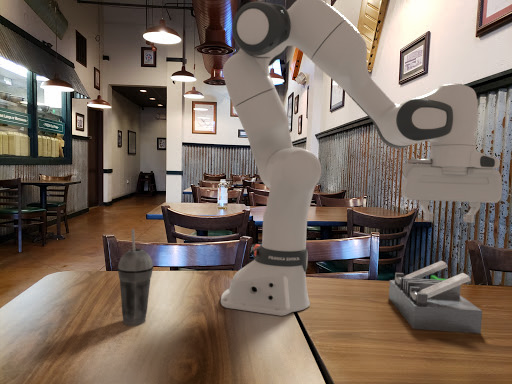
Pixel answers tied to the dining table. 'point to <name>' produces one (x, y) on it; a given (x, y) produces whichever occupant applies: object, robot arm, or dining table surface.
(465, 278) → the strap near
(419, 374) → the dining table surface
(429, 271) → the strap far
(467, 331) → the heatsink block
